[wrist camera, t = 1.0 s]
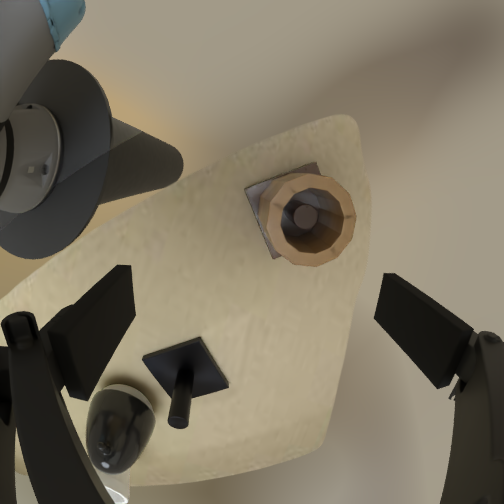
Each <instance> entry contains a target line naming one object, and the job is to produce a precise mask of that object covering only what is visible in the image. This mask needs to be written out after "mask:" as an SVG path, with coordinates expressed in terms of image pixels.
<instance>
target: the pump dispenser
mask: <svg viewBox="0 0 504 504" xmlns="http://www.w3.org/2000/svg"><path fill="white" fill-rule="evenodd" d="M154 427H155V416H154V413H153V409H152V406H151V404H150V402H149V400H148V399H147V398H146V397H145V396H144V395H143V394H142V393H141V392H140V391H138V390H137V389H135V388H133V387H130V386H127V385H123V384H113V385H109V386H107V387H105V388H103V389H102V390H101V391H99V392H97V393H96V394H95V395H94V397H93V399H92V401H91V404H90V407H89V411H88V416H87V423H86V448H87V453H88V456H89V459H90V461H91V463H92V464H93V465H94V467H95V468H96V469H98V470H99V471H101V472H103V473H105V474H108V475H118V474H121V473H123V472H125V471H126V470H128V469H129V468H130V467H131V466H132V465H133V464H134V463H135V462H136V461H137V459H138V458H139V456H140V455H141V454H142V452H143V450H144V449H145V447H146V445H147V444H148V442H149V440H150V437H151V435H152V433H153V430H154Z"/></svg>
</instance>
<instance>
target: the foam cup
mask: <svg viewBox="0 0 504 504" xmlns="http://www.w3.org/2000/svg"><path fill="white" fill-rule="evenodd" d="M92 465H93V464H92ZM93 467H94V465H93ZM94 469H95V471H96V472H97V474H98V476H99V478H100V480H101V481H102V483H103V485H104V486H105V488H106V490H107V491H108V493H109V495H110V496H111V498H112V499H113V501H114V502H115V504H126V503H128V501H129V496H130V490H129V481H130V468H129V469H128V470H126V471H125V472H123V473H121V474H118V475H108V474H105V473H103V472H101V471H99V470H98V469H96V468H95V467H94Z"/></svg>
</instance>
